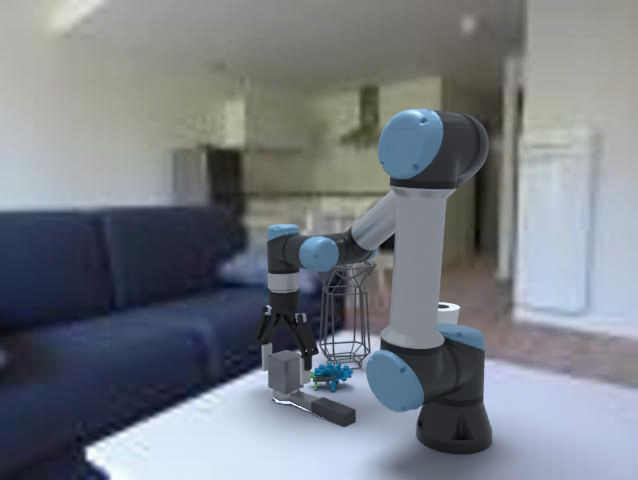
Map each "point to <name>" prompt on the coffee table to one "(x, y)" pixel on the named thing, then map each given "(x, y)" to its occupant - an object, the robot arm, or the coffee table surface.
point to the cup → (448, 313)
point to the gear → (331, 374)
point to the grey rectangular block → (284, 371)
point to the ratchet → (320, 406)
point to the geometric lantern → (367, 266)
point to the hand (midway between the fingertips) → (285, 376)
